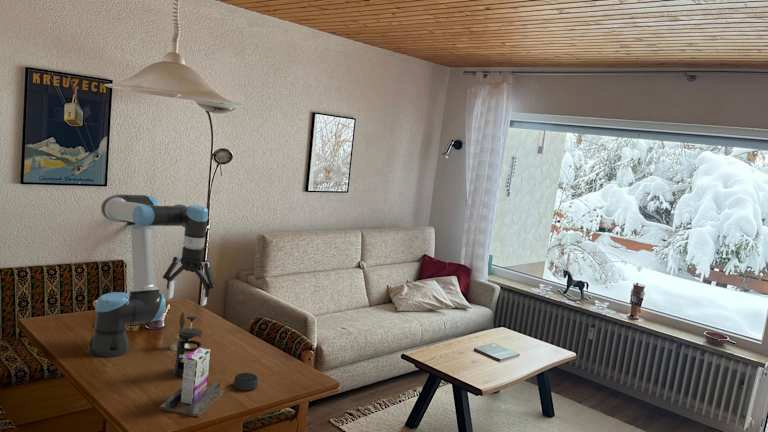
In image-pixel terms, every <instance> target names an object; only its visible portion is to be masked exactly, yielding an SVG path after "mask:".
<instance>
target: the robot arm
mask: <svg viewBox="0 0 768 432" xmlns="http://www.w3.org/2000/svg"><path fill="white" fill-rule="evenodd" d="M100 211H101V214H102V217H104V218H105V219H107V220H108V221H110V222H117V223H126V228H127V229H128V230H130V237H131V238H130V239H131V240H130V243H131V260H132V263H131V265H132V282H133V283H132V285H133V287H132V288H131V290H130V291H129V294H128V293H127V292H124V291H119V292H118V291H113V292H108V293H105V294H101V295H100V296H99V297H98V299H97V300H96V302H97V303H96V307H95V317H94V318H95V320H94V331H93V334H92V336H91V338H90V340H89V343H88V345H87V346H88V347H87V352H88V353H89V354H90V355H93V356H95V357H100V358H101V357H103V358H104V357H105V358H110V357H118V356H123V355H125V354H127V353H128V352H129V350H130V349H129V348H130V343H129V339H128V336H127V332H126V331H127V325H132V324H140V323H142V324H143V323H151V322H156V321H159V320H160V319H161V318H162V317H163V315H164V314H165V311H166V298H165V295H164V294H163V293H162V292H160V288H159V287H158V286H156V277H155V276H156V275H155V271H156V270H155V254H154V235H153V234H154V233H153V230H154V229H155V227H156V226H157V227H159V226H160V227H162V226H163V227H183V228H184V234H183V246H182V251H181V257H180V255H176V256H173V257H172V261H171V264H170V265H169V266H168V268H167V269H166V271H165V273H164V274H163V276H162V278H163V279H164V280H166V281H167V282H166V290H168V292H167V300H168V299H169V300H170V299H172V298H174V292H175V284H176V283H175V282H176V281H175V280H174V279H175V278H176V277H178V276H179V275H180V274H181V273H183V271H184V270H185V272H191V273H195V274H196V276H197V277H198V279H199V280H200V282H201V283H202V286H203V287H204V288H203V289H202V296H201V304H200V306H201V307H204V306H206V305H207V300H208V298H209V297H210V294H211V289H214V288H216V287H217V286H216V281H215V279H214V275H213V272H212V270H211V262H209V261H207V262H204V261H203V258H204V251H205V250H204V247H205V241H206V232H207V226H208V220H209V209H208V208H207V206H204V205H203V206H202V205H194V204H191V205H189V206H186V205H185V204H175V205H160V202H159V201H158V199H157V197H155V196H152V195H145V194H142V195H141V194H114V195H110V196H108V197H107V198H106V199H104V200H103V201H102V203H101V206H100ZM178 263H181V266H179V267H178V269H177V270H175V268H176V267H177V266H178ZM203 269H204V270H203ZM174 270H175V271H174Z"/></svg>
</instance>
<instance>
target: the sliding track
mask: <svg viewBox="0 0 768 432" xmlns="http://www.w3.org/2000/svg"><path fill="white" fill-rule="evenodd" d="M220 387H221V382H220V381H215V382H214V383H213V384H212V385H211V386H207V390H206V391H205V392H204V393H203V394H202V395H201V396H200V397H199V398H198V399H196V400H195V401H194V402H193V403H192V404H191V405H190V404H185V403H181V392H182V387H181V388H179V389H178V390H177V391H176V392H175V393H173V394H172V395H171V396H170V397H169V398H167V399H166V400H165V401H164V402H163V403H162V404H161V405H160V406H159V410H160V411H161V410H162V411H166V412H171V413H175V414H180V415H181V414H182V415H185V416H191V417H196V418H200V417H201V416H202V415H203V414H204V413H205V412H206V411H207V410H208V409H209V408H210V407H211V406H212V405H213V404H214V403H215V402H216V401H217V400H218V399H219V398H220V397H221V396H222V395H223V394H224V393H225V389H221V388H220Z"/></svg>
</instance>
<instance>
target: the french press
mask: <svg viewBox="0 0 768 432" xmlns="http://www.w3.org/2000/svg"><path fill="white" fill-rule="evenodd" d="M186 320H190V327H189V328H188V327H187V328H184V329H181V330H180V329H178V331H177V334H178V335H179V338H180V339H181V340H178V343H177V351H176V357H175V364H174V370H173V373H172V374H173V376H174V377H176V378H179V379H183V369H184V358H185V357H187V356H188V355H189V354H190V353H192V352H194V351H195V350H196V349H198V348H202V343H201V342H200V341H197V340H194V339H193V340H192V338H196V337H199V338H200V339H201V338H202V335H203V334H204V333H203V330H201V329H197V328H193V327H192V326H193V325H192V324H193V322H194V321H195V320H198V317H197V316H194V315H188V316H186ZM187 343H188V345H189V346H190V348H189V347H188V348H185V344H187ZM191 344H192V345H196V347H192V348H191ZM185 352H187V353H185Z"/></svg>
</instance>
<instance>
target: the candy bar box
mask: <svg viewBox="0 0 768 432" xmlns="http://www.w3.org/2000/svg"><path fill="white" fill-rule="evenodd" d="M211 351H212V349H208V348H204V347H201V348H198V349H196V350H195V351H194V352H190V353H189V355H188V356H187V357H185V358H184V369H183V378H182V383H181V388H182V392H181V403H185V404H190V405H191V404H192V403H193V402H194V401H195V400H196V399H198V398H199V397H200V396H201V395H202V394H203V393H204V392H205V391H206V390H207V387H208V379H209V369H210V362H211V361H210V359H211Z"/></svg>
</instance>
